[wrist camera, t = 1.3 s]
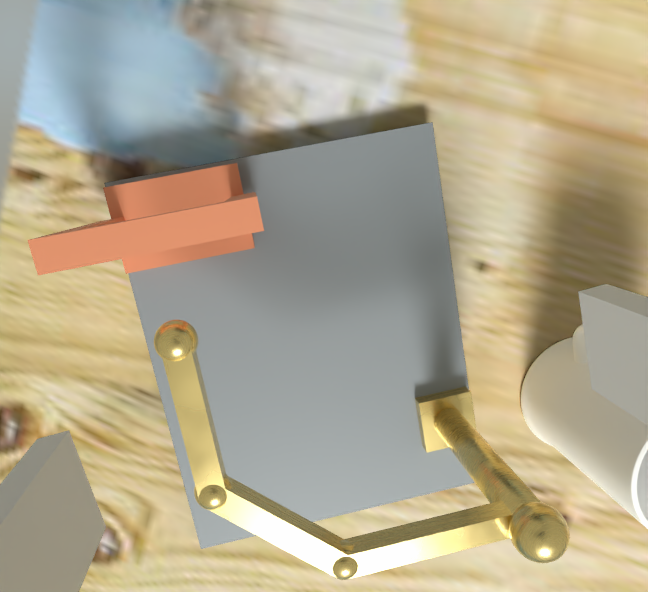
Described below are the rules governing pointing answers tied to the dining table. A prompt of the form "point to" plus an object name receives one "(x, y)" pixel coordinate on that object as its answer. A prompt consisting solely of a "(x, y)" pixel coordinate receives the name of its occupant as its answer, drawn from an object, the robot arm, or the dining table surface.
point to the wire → (377, 547)
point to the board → (321, 329)
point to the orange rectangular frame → (160, 224)
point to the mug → (587, 424)
